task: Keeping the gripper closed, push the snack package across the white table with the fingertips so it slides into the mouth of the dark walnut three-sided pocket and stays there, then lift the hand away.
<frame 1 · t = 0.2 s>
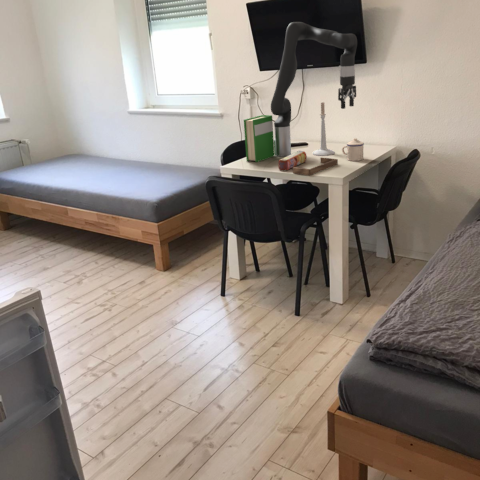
hand: (347, 107, 272), 29 cm above the table, tool pointing down, fingers open, 8 cm apart
snack package: (292, 166, 283), on the table
candlestick: (323, 153, 307), on the table
teacup with lid: (352, 159, 287), on the table
walnut pocket: (315, 168, 273), on the table
hardback book: (260, 158, 308), on the table
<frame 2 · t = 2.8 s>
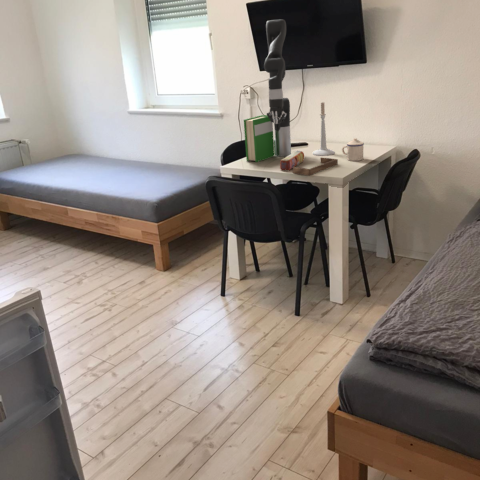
hand: (277, 130, 282), 19 cm above the table, tool pointing down, fingers closed
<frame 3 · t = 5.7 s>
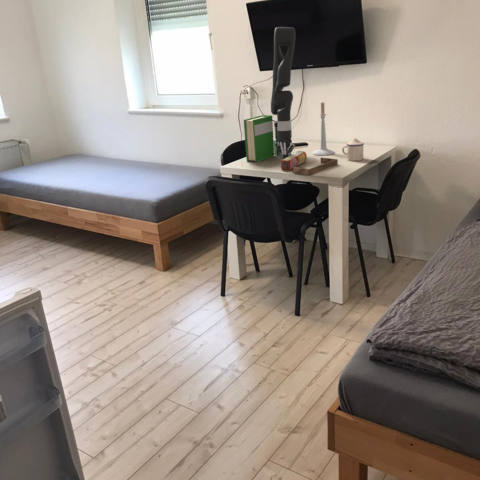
hand: (285, 160, 284), 3 cm above the table, tool pointing down, fingers closed
snack package: (294, 167, 282), on the table, touching gripper
everything else where it was.
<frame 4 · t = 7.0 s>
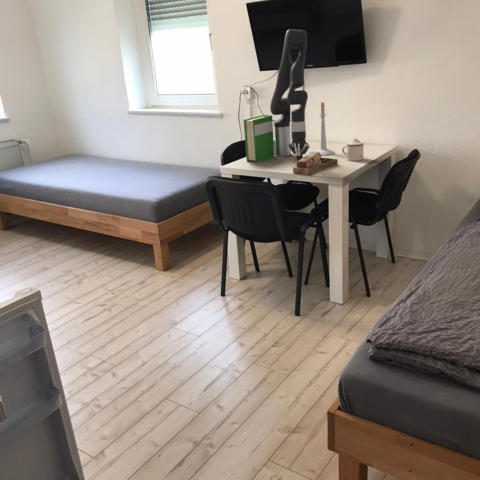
hand: (299, 162, 278), 3 cm above the table, tool pointing down, fingers closed
snack package: (309, 168, 277), on the table, touching gripper
everything else where it was.
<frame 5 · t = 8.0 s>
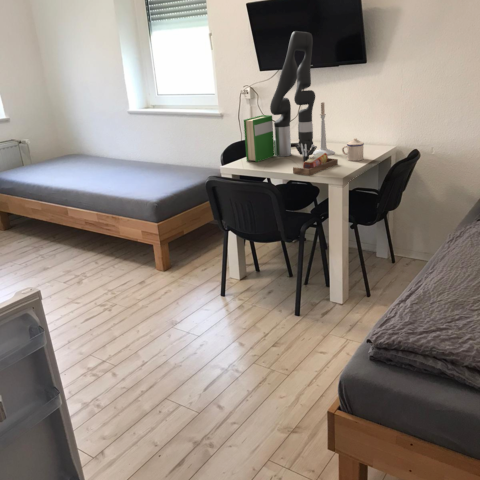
hand: (306, 162, 275), 3 cm above the table, tool pointing down, fingers closed
snack package: (315, 168, 274), on the table, touching gripper, walnut pocket
everything else where it was.
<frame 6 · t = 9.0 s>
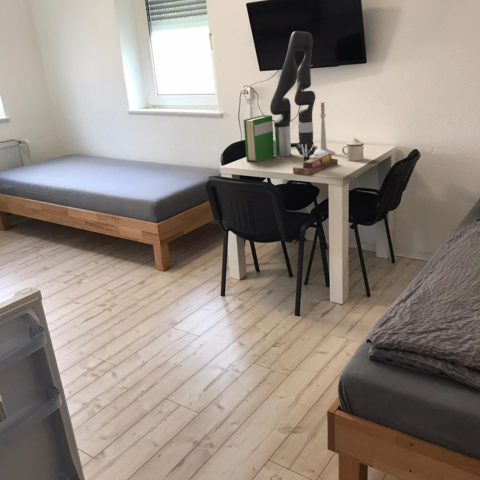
hand: (306, 163, 276), 2 cm above the table, tool pointing down, fingers closed
snack package: (317, 169, 273), on the table
everything else where it was.
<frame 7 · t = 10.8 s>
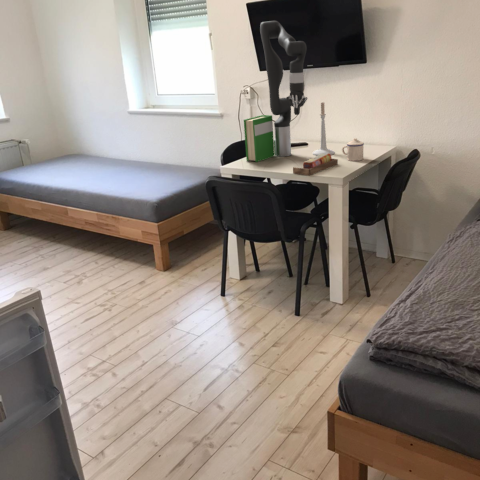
hand: (297, 114, 281), 26 cm above the table, tool pointing down, fingers closed
nothing on the table moved.
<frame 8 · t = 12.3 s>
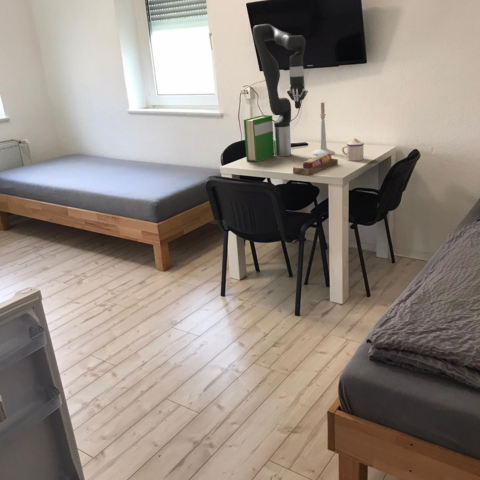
hand: (297, 108, 284), 29 cm above the table, tool pointing down, fingers closed
nothing on the table moved.
at the end: snack package 1.5 cm off-centre on the walnut pocket, point -0.5 cm above the walnut pocket's base; snack package tilted 2° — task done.
